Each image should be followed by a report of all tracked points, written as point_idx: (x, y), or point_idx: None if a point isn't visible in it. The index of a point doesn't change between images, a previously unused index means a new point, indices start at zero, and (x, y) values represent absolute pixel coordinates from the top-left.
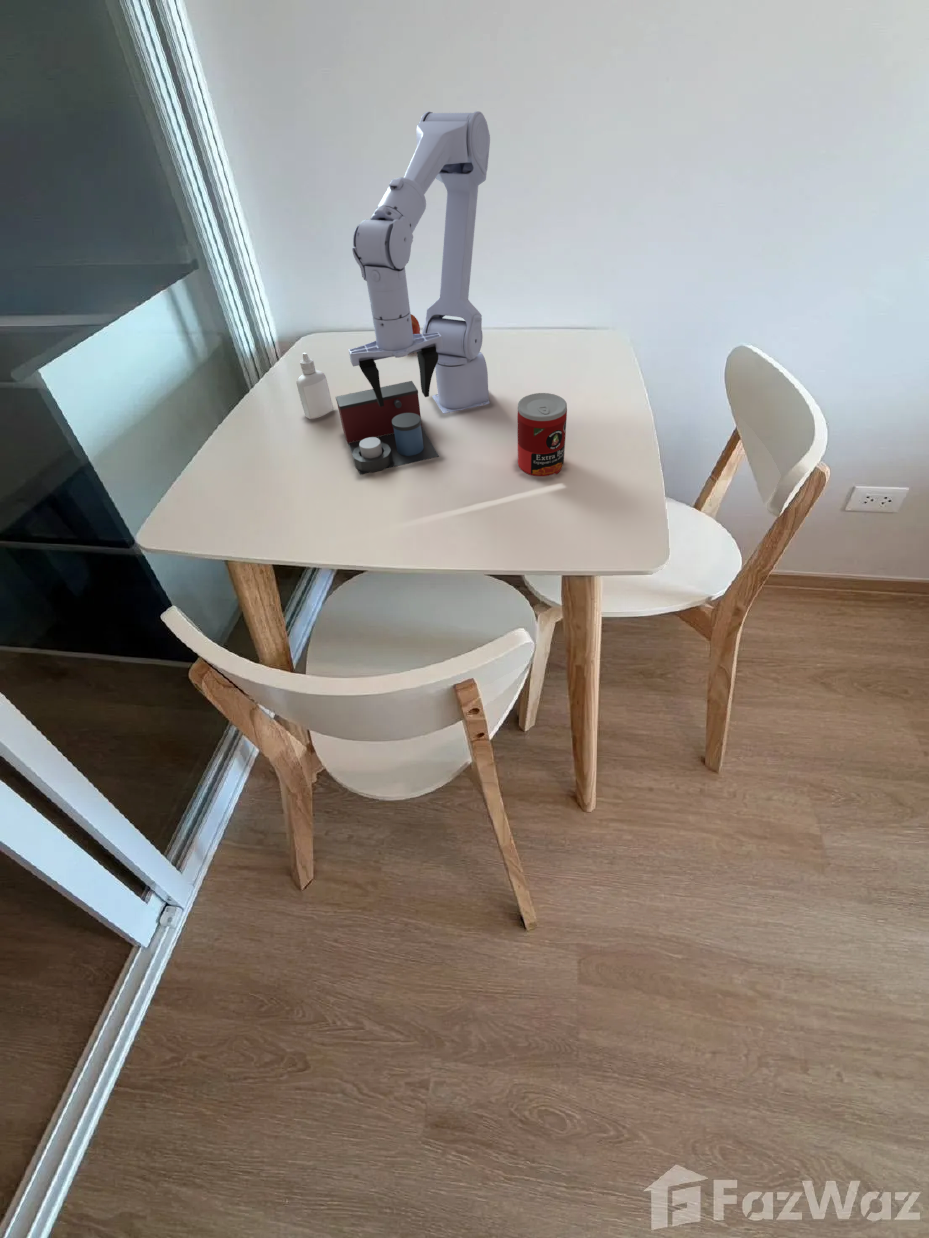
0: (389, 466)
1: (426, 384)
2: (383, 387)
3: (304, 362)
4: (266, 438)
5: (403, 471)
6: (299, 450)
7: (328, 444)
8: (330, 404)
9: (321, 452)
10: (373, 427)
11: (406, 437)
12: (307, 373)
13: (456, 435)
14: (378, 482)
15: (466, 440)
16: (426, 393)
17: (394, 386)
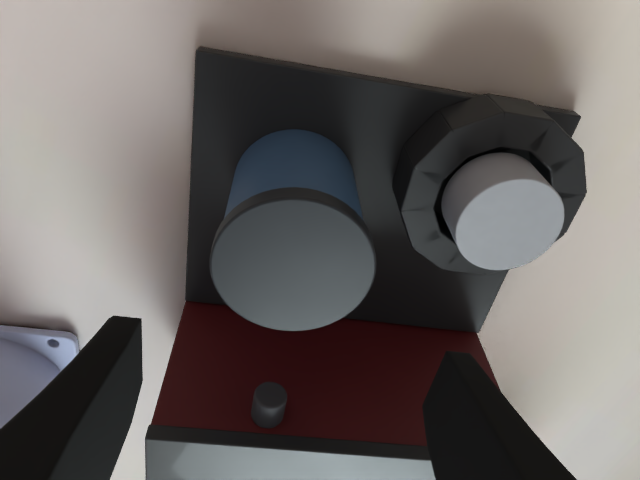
0: (443, 103)
1: (85, 387)
2: None
3: None
4: (632, 457)
5: (396, 49)
6: (609, 373)
7: (519, 362)
8: None
9: (566, 334)
10: (381, 353)
11: (329, 181)
12: None
13: (60, 190)
14: (539, 28)
15: (22, 129)
16: (119, 333)
17: None
